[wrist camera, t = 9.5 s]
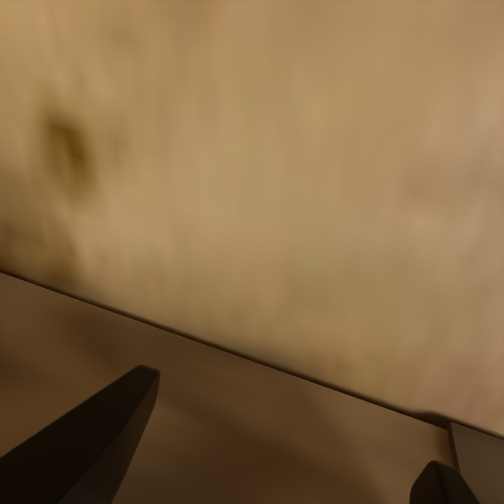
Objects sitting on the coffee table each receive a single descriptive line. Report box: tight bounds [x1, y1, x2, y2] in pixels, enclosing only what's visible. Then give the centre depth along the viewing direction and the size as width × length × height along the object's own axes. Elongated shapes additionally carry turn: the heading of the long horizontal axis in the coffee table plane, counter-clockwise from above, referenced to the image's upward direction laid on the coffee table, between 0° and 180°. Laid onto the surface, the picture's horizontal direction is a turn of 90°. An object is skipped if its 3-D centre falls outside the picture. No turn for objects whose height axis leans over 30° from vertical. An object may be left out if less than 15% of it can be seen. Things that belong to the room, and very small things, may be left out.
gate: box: [0, 273, 504, 504], centre depth 9 cm, size 18×3×6 cm, turn 77°
